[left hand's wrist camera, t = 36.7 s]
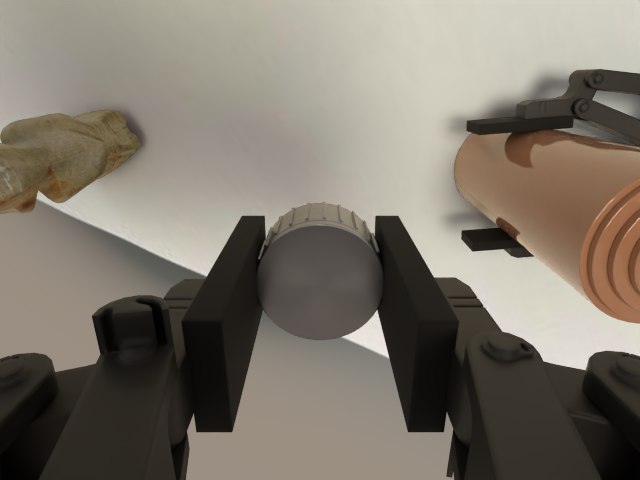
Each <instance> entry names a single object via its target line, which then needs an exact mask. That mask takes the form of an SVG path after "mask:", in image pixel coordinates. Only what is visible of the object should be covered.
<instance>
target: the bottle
mask: <svg viewBox="0 0 640 480" xmlns="http://www.w3.org/2000/svg"><path fill="white" fill-rule="evenodd" d="M454 177H455V182H456V185H457V188H458V190H459V192H460V193H461V195H462V196H463V197H464V198H465V199H466V200H467V201H468V202H469V203H471V204H472V205H473V206H474V207H475V208H477V209H478V210H479V211H480V212H482V213H483V214H484V215H485V216H486V217H488V218H489V219H490V220H491V221H492V222H494V223H495V224H496V225H497V226H499V227H500V228H501V229H502V230H503V231H505V232H506V233H507V234H508V235H509V236H511V237H512V238H513V239H514V240H516V241H517V242H518V243H519V244H520V245H522V246H523V247H524V248H525V249H526V250H528V251H529V252H530V253H531V254H533V255H534V256H535V257H536V258H537V259H539V260H540V261H541V262H542V263H544V264H545V265H546V266H547V267H548V268H550V269H551V270H552V271H553V272H554V273H556V274H557V275H558V276H559V277H561V278H562V279H563V280H564V281H565V282H567V283H568V284H569V285H570V286H571V287H573V288H574V289H575V290H576V291H578V292H579V293H580V294H581V295H582V296H584V297H585V298H586V299H587V300H588V301H590V302H591V303H592V304H593V305H595V306H596V307H597V308H598V309H599V310H601V311H602V312H604V313H605V314H607V315H609V316H611V317H613V318H616V319H618V320H622V321H626V322H632V323H640V147H638V146H633V145H629V144H624V143H619V142H615V141H610V140H605V139H600V138H596V137H591V136H586V135H582V134H577V133H572V132H567V131H563V130H558V129H550V130H538V131H526V132H513V133H501V134H489V135H477V134H474V133H472V134H471V135H470V136H469V137H468V138H467V139H466V141H465V142H464V143H463V145H462V146H461V148H460V150H459V152H458V155H457V157H456V161H455V167H454Z"/></svg>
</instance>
